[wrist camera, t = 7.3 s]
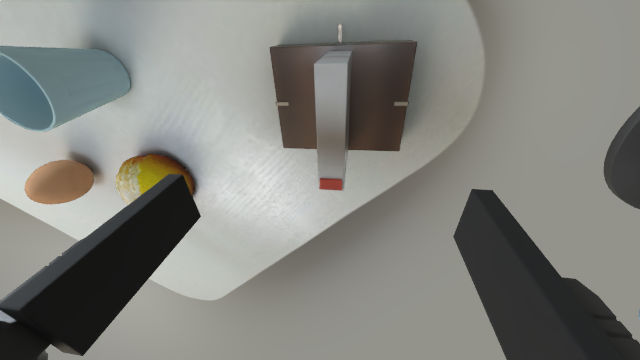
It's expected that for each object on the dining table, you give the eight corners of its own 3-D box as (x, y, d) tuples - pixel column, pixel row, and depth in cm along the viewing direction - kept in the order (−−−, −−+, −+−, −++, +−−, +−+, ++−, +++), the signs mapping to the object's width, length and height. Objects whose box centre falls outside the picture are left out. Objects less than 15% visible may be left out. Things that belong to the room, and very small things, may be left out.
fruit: (132, 133, 34) (100, 167, 28) (206, 159, 39) (192, 193, 33) (125, 184, 40) (97, 221, 34) (190, 201, 45) (176, 237, 39)
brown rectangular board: (415, 21, 23) (422, 20, 20) (395, 152, 30) (398, 164, 28) (275, 27, 25) (265, 27, 22) (290, 149, 32) (283, 159, 30)
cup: (150, 80, 30) (64, 103, 21) (125, 114, 33) (42, 145, 25) (93, 24, 27) (-32, 23, 19) (72, 67, 30) (-42, 83, 22)
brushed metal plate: (329, 50, 22) (313, 64, 15) (352, 50, 22) (347, 63, 15) (329, 145, 28) (318, 190, 20) (348, 146, 28) (343, 192, 20)
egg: (107, 189, 43) (59, 220, 36) (71, 175, 42) (15, 204, 35) (103, 162, 39) (49, 191, 32) (63, 145, 38) (-1, 172, 31)
